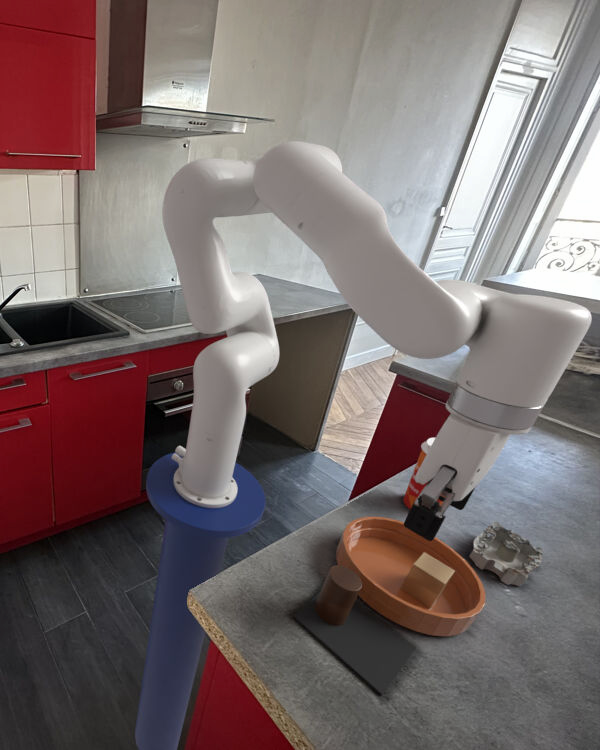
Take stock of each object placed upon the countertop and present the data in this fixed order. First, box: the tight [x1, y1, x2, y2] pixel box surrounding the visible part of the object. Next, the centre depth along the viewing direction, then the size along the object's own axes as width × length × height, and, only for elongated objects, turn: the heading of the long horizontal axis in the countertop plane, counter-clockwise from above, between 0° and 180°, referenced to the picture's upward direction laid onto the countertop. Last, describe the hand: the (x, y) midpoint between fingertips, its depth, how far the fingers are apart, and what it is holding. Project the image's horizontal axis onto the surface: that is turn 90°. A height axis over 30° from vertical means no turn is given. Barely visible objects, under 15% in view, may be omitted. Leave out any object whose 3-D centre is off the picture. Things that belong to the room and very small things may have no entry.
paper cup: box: [403, 437, 443, 510], centre depth 77 cm, size 8×8×14 cm
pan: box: [335, 516, 487, 637], centre depth 64 cm, size 18×18×4 cm
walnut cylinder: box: [315, 564, 362, 626], centre depth 58 cm, size 4×4×8 cm
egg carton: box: [468, 520, 544, 587], centre depth 69 cm, size 11×8×4 cm
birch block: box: [401, 552, 455, 608], centre depth 62 cm, size 4×4×6 cm
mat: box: [292, 589, 417, 697], centre depth 57 cm, size 12×10×1 cm
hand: (433, 517), depth 54 cm, fingers open, 9 cm apart
